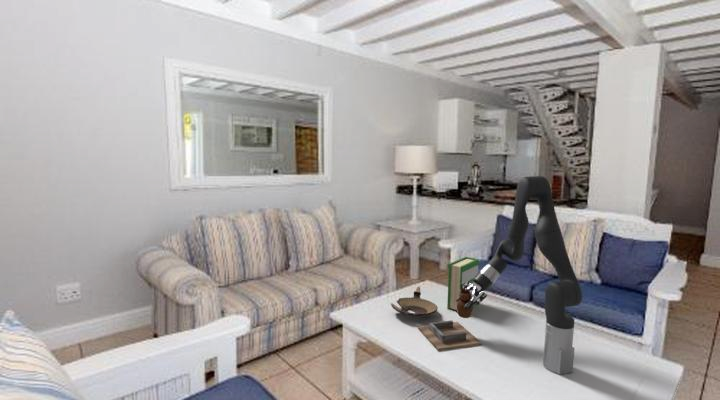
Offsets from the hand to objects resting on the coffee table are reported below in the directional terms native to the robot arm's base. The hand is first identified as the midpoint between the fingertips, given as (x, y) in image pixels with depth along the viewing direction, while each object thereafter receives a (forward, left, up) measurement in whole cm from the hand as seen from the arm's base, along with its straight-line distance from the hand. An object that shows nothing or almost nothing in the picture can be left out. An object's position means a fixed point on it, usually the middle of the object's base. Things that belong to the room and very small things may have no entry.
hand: (461, 305), depth 168 cm
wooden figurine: (0, -2, -6) cm, 6 cm away
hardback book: (+28, -17, -14) cm, 35 cm away
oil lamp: (+27, +9, -14) cm, 31 cm away
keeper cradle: (0, +6, -13) cm, 15 cm away
